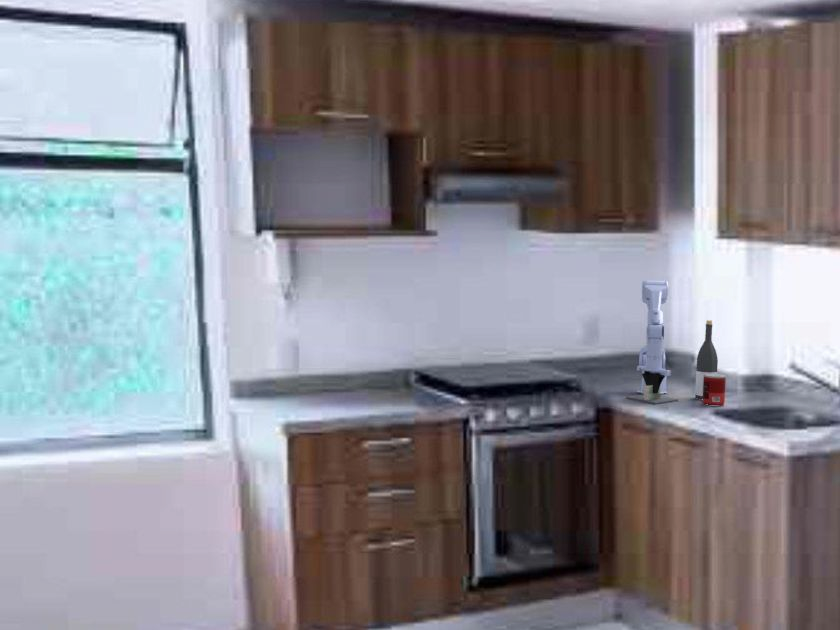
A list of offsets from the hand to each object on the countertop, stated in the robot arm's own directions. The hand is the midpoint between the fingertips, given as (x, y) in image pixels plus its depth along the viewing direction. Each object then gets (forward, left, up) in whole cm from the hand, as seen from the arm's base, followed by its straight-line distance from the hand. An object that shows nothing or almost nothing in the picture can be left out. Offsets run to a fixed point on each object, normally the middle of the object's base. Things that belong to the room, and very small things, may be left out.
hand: (652, 392), depth 381 cm
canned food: (-14, +17, -3) cm, 22 cm away
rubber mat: (-1, -1, -3) cm, 3 cm away
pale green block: (0, 0, -2) cm, 2 cm away
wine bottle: (-21, +8, -3) cm, 23 cm away
